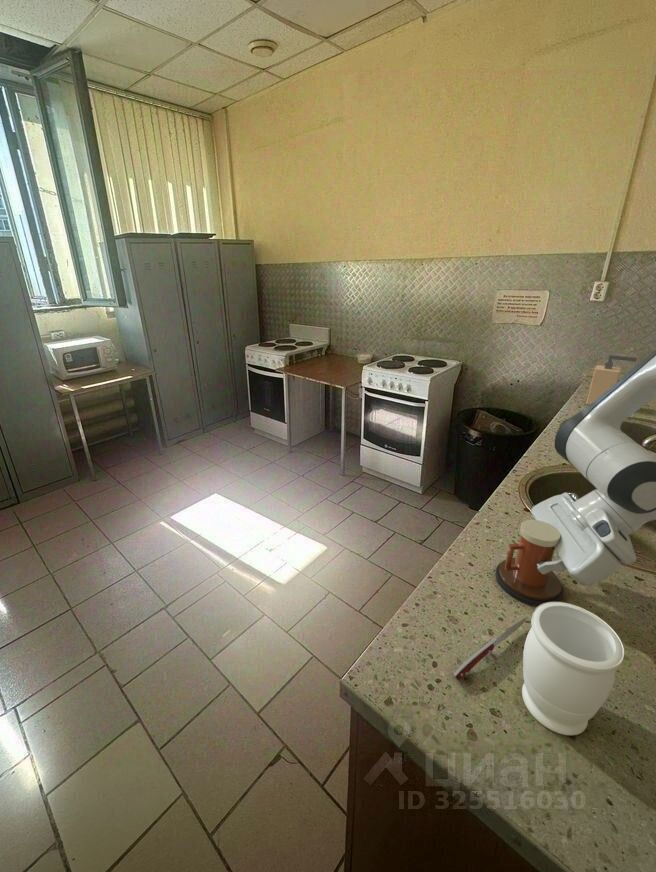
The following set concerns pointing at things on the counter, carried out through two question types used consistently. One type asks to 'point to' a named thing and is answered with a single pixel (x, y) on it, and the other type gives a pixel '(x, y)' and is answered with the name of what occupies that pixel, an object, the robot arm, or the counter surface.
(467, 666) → the knife
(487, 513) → the counter surface
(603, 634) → the jar
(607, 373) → the soap dispenser
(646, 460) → the robot arm
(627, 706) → the counter surface
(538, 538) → the coffee mug with lid
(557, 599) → the base
